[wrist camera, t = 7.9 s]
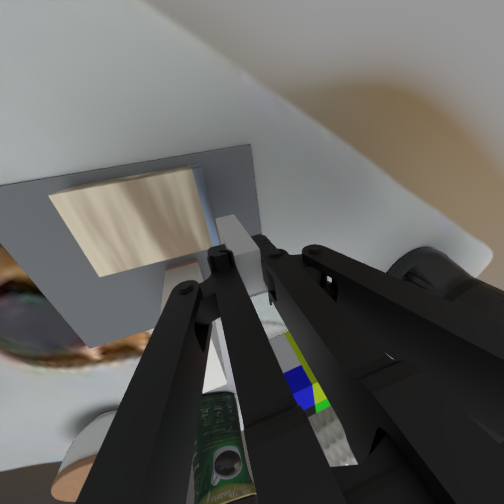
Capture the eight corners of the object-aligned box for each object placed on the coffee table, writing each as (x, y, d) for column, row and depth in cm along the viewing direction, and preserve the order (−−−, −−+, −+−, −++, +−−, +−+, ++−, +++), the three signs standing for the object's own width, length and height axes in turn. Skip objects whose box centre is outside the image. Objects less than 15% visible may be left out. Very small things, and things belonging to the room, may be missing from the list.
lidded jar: (80, 403, 32) (48, 487, 24) (153, 399, 37) (146, 469, 29) (70, 442, 36) (39, 528, 28) (139, 434, 40) (129, 506, 32)
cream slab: (197, 258, 27) (208, 329, 17) (211, 304, 31) (227, 383, 21) (165, 267, 26) (156, 347, 16) (184, 312, 30) (186, 399, 20)
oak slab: (201, 167, 18) (47, 195, 16) (219, 245, 22) (99, 277, 20) (197, 163, 22) (70, 186, 19) (214, 232, 26) (110, 257, 23)
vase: (267, 394, 48) (324, 557, 29) (321, 350, 46) (418, 492, 27) (301, 407, 56) (362, 540, 38) (347, 371, 55) (436, 490, 36)
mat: (249, 144, 23) (250, 144, 22) (267, 289, 33) (268, 291, 33) (-38, 192, 18) (-42, 193, 17) (90, 346, 28) (89, 348, 28)
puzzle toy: (251, 347, 39) (271, 404, 30) (299, 326, 40) (331, 375, 32) (262, 375, 44) (281, 430, 35) (304, 355, 45) (332, 404, 37)
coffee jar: (183, 418, 42) (185, 581, 26) (192, 393, 39) (201, 558, 24) (228, 412, 46) (252, 550, 30) (239, 389, 43) (273, 528, 28)
